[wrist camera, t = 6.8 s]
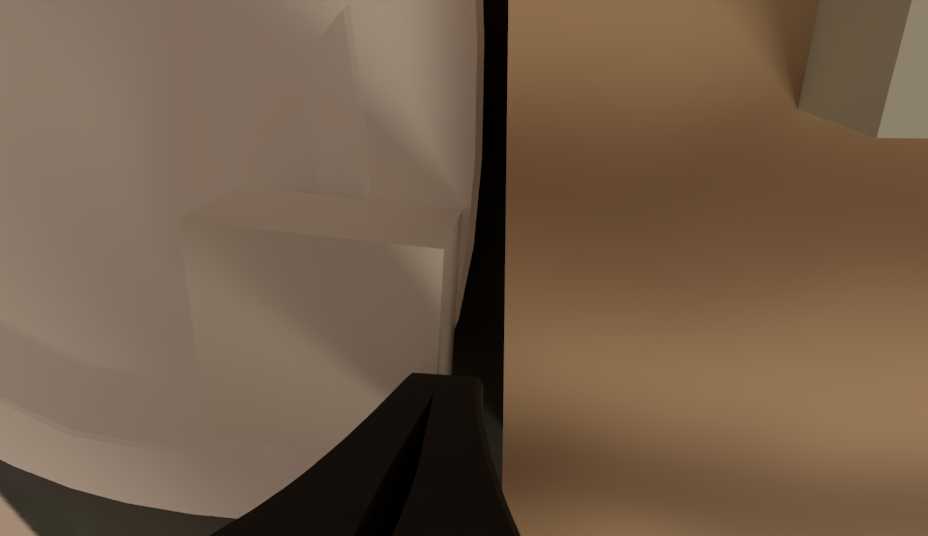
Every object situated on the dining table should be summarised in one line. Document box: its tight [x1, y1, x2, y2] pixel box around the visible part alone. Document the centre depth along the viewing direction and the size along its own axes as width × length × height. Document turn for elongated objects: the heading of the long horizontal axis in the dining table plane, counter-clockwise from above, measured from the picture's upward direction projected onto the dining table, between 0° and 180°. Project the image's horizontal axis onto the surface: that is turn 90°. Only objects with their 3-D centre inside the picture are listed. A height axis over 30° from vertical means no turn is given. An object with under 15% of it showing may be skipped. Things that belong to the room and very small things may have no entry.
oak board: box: [502, 0, 928, 536], centre depth 11 cm, size 16×14×4 cm
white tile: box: [178, 186, 462, 453], centre depth 13 cm, size 5×5×2 cm
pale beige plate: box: [0, 0, 484, 519], centre depth 15 cm, size 19×19×2 cm
